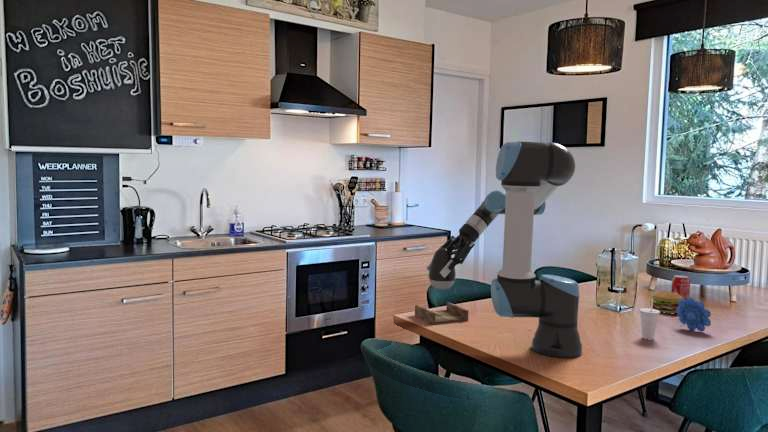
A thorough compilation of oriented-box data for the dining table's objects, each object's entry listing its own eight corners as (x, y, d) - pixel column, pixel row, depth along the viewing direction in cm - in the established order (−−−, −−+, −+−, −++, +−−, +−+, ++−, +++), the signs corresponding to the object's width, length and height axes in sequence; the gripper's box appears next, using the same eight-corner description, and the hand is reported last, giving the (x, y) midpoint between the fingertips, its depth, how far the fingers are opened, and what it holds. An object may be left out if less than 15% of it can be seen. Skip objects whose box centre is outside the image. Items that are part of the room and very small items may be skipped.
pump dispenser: (454, 291, 207) (456, 250, 206) (426, 289, 209) (427, 249, 208) (457, 285, 217) (458, 246, 216) (429, 284, 219) (431, 245, 218)
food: (687, 317, 224) (688, 297, 223) (648, 312, 230) (649, 292, 230) (688, 310, 235) (689, 291, 235) (651, 305, 242) (652, 287, 242)
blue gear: (670, 329, 205) (673, 296, 204) (676, 325, 210) (678, 294, 209) (706, 336, 197) (709, 302, 196) (712, 332, 202) (714, 299, 201)
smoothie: (657, 342, 189) (659, 301, 188) (636, 338, 192) (638, 298, 191) (659, 337, 194) (661, 297, 193) (639, 334, 198) (641, 295, 196)
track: (468, 321, 210) (468, 310, 210) (432, 324, 204) (433, 314, 204) (448, 312, 223) (448, 302, 223) (414, 315, 217) (415, 305, 216)
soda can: (672, 300, 252) (673, 274, 251) (689, 303, 248) (691, 276, 247) (669, 303, 246) (671, 276, 245) (687, 306, 242) (689, 278, 241)
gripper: (495, 239, 208) (456, 285, 202) (462, 232, 228) (426, 273, 223) (483, 225, 205) (444, 271, 200) (451, 219, 225) (415, 261, 220)
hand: (435, 272), depth 211 cm, fingers closed on pump dispenser, 10 cm apart
